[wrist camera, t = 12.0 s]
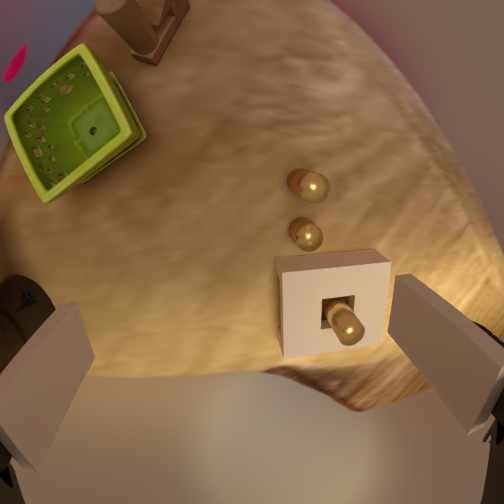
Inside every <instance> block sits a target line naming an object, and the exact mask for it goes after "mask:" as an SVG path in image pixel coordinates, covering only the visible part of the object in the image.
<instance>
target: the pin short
mask: <svg viewBox="0 0 504 504" xmlns="http://www.w3.org/2000/svg"><path fill="white" fill-rule="evenodd" d="M289 233H290V235H291V237H292V238H293V239H294V241H295V242H296V243H297V245H298V246H299V247H300V248H301V249H302V250H304V251H308V252H310V251H314V250H316V249H317V248H319V247H320V245H321V244H322V241H323V234H322V231H321V230H320V229H319V228H318V227H317V226H316V225H315V224H314V223H312V222H311V221H310V220H309V219H307V218H305V217H299V218H296V219H294V220H293V221H292V222H291V224H290V227H289Z"/></svg>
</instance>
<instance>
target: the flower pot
mask: <svg viewBox="0 0 504 504" xmlns="http://www.w3.org/2000/svg"><path fill="white" fill-rule="evenodd" d="M83 61H85V63H86V64H84V65H82V63H83ZM87 70H89V72H87V73H85V72H86V71H87ZM70 73H73V74H72V75H71V76H70V77H67V76H68V75H69V74H70ZM54 83H56V85H53V84H54ZM69 84H71V86H70V88H69V89H68V91H67V92H59V90H60V88H61V87H62V86H64V85H69ZM52 85H53V86H52ZM58 92H59V93H58ZM40 94H41V96H39V95H40ZM38 96H39V97H38ZM47 96H49V98H48V99H47V100H45V101H42V100H43V99H45V98H46V97H47ZM30 106H32V107H31V108H30V109H28V108H29V107H30ZM47 106H48V107H49V108H47V109H46V110H44V111H43V109H44V108H46V107H47ZM32 113H33V114H32ZM31 114H32V115H31ZM4 119H5V123H6V126H7V129H8V132H9V135H10V137H11V140H12V142H13V145H14V147H15V150H16V152H17V154H18V157H19V159H20V161H21V163H22V165H23V167H24V169H25V171H26V173H27V175H28V177H29V179H30V181H31V183H32V185H33V187H34V189H35V190H36V192H37V194H38V195H39V197H40V199H41V200H42V202H44V203H49V202H51V201H53V200H55V199H57V198H58V197H60V196H62V195H63V194H65V193H66V192H68V191H69V190H71V189H72V188H73V187H75V186H76V185H77V184H79V183H80V182H81V183H84V182H86V181H87V180H89V179H90V178H91V177H93V176H94V175H95V174H97V173H98V172H100V171H101V170H103V169H104V168H105V167H107V166H108V165H110V164H111V163H112V162H114V161H115V160H117V159H118V158H120V157H121V156H122V155H124V154H125V153H127V152H128V151H130V150H131V149H132V148H134V147H135V146H137V145H138V144H139V143H141V142H142V141H143V140H145V139H146V138H147V134H146V132H145V130H144V128H143V126H142V124H141V122H140V120H139V118H138V116H137V114H136V112H135V110H134V109H133V107H132V105H131V103H130V101H129V99H128V97H127V96H126V94H125V92H124V90H123V88H122V86H121V85H120V83H119V81H118V79H117V77H116V76H115V74H114V73H113V72H112V71H110V72H108V71H107V70H106V68H105V67H104V65H103V63H102V62H101V60H100V59H99V57H98V56H97V55H96V54H95V52H94V51H93V50H92V49H91V48H90V47H88V46H87V45H86V44H84V43H82V44H80V45H78V46H77V47H75V48H74V49H73V50H71V51H70V52H69V53H67V54H66V55H65V56H63V57H62V58H61V59H60V60H58V61H57V62H56V63H55V64H54V65H52V66H51V67H50V68H49V69H48V70H47V71H46V72H44V73H43V74H42V75H41V76H40V77H39V78H38V79H37V80H36V81H35V82H34V83H33V84H32V85H31V86H30V87H29V88H28V89H27V90H26V91H25V92H24V93H23V94H22V95H21V96H20V97H19V99H18V100H17V101H16V102H15V103H14V104H13V105H12V107H11V108H10V109H9V110H8V112H7V113H6V114H5V116H4ZM29 124H32V125H33V128H32V127H30V126H29ZM39 127H41V128H42V129H43V131H41V130H39ZM25 134H26V135H28V137H26V135H25ZM38 139H42V141H43V143H42V144H40V143H39V142H38ZM48 147H50V148H51V149H52V150H50V149H48ZM33 149H37V150H38V152H39V154H40V156H41V157H39V158H37V157H36V156H35V154H34V152H33ZM49 159H52V162H51V161H50V160H49ZM47 171H50V172H51V173H52V174H49V173H48V172H47ZM60 175H64V176H65V178H64V179H63V180H62V181H61V179H60V178H59V176H60ZM51 183H55V184H56V185H55V186H54V187H52V185H51Z"/></svg>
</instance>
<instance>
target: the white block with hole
mask: <svg viewBox="0 0 504 504" xmlns="http://www.w3.org/2000/svg"><path fill="white" fill-rule="evenodd" d="M275 266H276V272H277V275H278V277H279V280H280V315H281V327H277V328H278V340H279V344H280V347H281V351H282V354H283V358H284V359H286V358H294V357H302V356H309V355H316V354H322V353H329V352H335V351H341V350H347V349H352V348H358V347H363V346H368V345H373V344H378V343H381V337H382V331H383V325H384V319H385V312H386V305H387V297H388V289H389V280H390V271H391V261H390V260H389V259H387V258H386V257H384V256H383V255H382V254H380V253H379V252H377V251H376V250H375V249H368V250H357V251H346V252H335V253H324V254H312V255H301V256H289V257H278V258H275ZM343 296H349V299H348V306H349V307H350V309H351V310H352V311H353V313H354V314H355V315H356V317H357V318H358V319H359V321H360V322H361V323H362V325H363V326H364V328H365V334H364V336H363V338H362V339H361V340H360V341H359V342H358V343H357V344H355V345H352V346H345V345H343V344H342V343H341V342H340V341H339V339H338V337H337V335H336V334H335V332H334V330H333V329H332V327H331V325H330V323H329V322H328V320H323V321H321V312H322V299H327V298H335V297H343Z"/></svg>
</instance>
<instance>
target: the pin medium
mask: <svg viewBox="0 0 504 504" xmlns="http://www.w3.org/2000/svg"><path fill="white" fill-rule="evenodd" d="M287 183H288V187H289V188H290V190H291V191H293V192H294V193H296V194H297V195H299V196H300V197H302V198H303V199H305V200H306V201H308V202H310V203H320V202H322V201H324V200H325V199H326V198H327V196H328V194H329V191H330V184H329V181H328V180H327V178H326V177H325V176H324V175H322V174H320V173H316V172H312V171H309V170H305V169H295V170H293V171H292V172H291V173H290V174H289V176H288V179H287Z"/></svg>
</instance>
